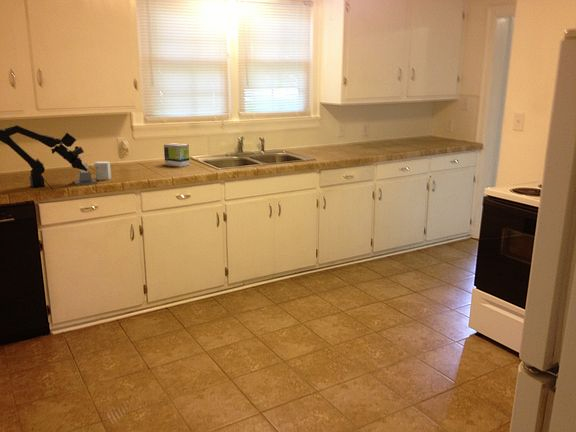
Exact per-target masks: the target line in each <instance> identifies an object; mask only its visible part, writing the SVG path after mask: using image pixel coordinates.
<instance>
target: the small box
mask: <svg viewBox="0 0 576 432" xmlns="http://www.w3.org/2000/svg"><path fill="white" fill-rule="evenodd" d="M94 171H95V172H94V173H95V179H96V181H97V180H98V181H102V180H103V181H108V180H111V178H112V172H111V162H110V161H95V162H94Z"/></svg>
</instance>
